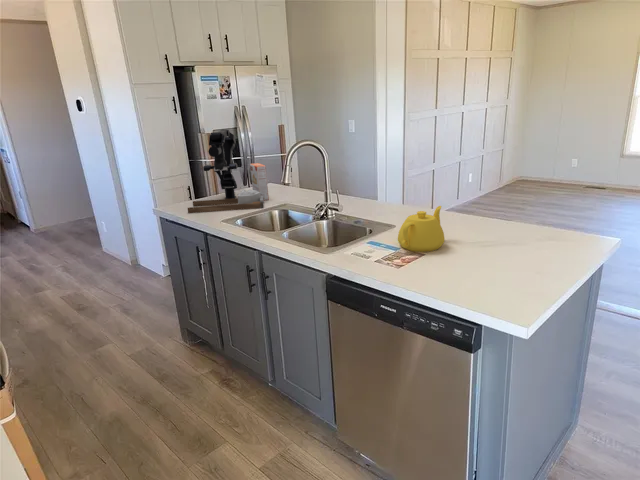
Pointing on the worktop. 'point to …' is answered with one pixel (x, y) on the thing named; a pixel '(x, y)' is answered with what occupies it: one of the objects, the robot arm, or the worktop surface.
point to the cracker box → (259, 179)
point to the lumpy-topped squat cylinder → (248, 197)
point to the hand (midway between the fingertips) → (222, 181)
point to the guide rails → (222, 206)
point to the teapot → (422, 232)
